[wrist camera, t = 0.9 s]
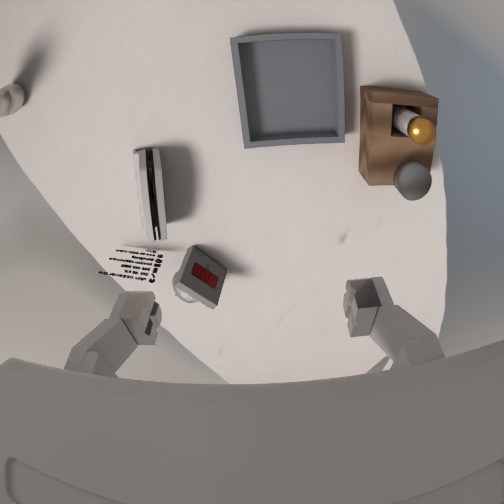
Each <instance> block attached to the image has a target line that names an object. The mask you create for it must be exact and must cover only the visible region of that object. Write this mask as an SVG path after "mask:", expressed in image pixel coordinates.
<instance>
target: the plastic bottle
mask: <svg viewBox="0 0 504 504" xmlns="http://www.w3.org/2000/svg"><path fill="white" fill-rule="evenodd" d="M24 99H25V93H24V90H23V88H22V87H21V86H20V85H18V84H9V85H6V86H5V87H3V88H2V89H0V117H3V116H7V115H11V114H14V113H15V112H17V111H18V110H19V109H20V108H21V107H22V105H23V103H24Z"/></svg>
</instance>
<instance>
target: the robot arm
mask: <svg viewBox="0 0 504 504" xmlns="http://www.w3.org/2000/svg"><path fill="white" fill-rule="evenodd" d="M346 290H347V292H346V293H345V294H344V300H343V307H344V313H345V316H346V317H347V318H348V324H347V325H348V329H349V333H350V337H357V336H367V335H370V337H371V338H372V339H373V341H374V342H375V343H376V344H377V345H378V346H379V347H380V348H381V349H382V350H383V351H384V352H385V353H386V354H387V355H388V356H389V357H390V359H391V360H392V361H393V362H394V363H393V364H392V366H391V368H390V370H386V371H380V372H375V373H368V374H361V375H354V376H347V377H339V378H331V379H322V380H311V381H300V382H286V383H268V384H229V385H228V384H227V385H226V384H185V383H167V382H154V381H142V380H132V379H123V378H119V377H118V376H117V375H116V374H115V372H116V371H117V370H118V369H119V367H120V366H121V365H122V364H123V363H124V362H125V360H126V359H127V358H128V357H129V356H130V355H131V353H132V352H133V351H134V350H135V349H136V348H137V346H138V345H155V342H156V338H157V335H158V332H157V330H156V328H157V327H158V326H159V325H160V323H161V317H162V313H161V308H160V306H159V304H158V303H156V302H155V298H156V297H155V295H154V293H153V292H151V291H122V292H120V293H119V295H118V298H117V300H116V302H115V304H114V307H113V309H112V312H111V314H110V317H109V319H105V320H104V321H103V322H102V323H100V324H99V325H98V326H97V327H96V328H94V329H93V330H92V331H91V332H90V333H89V334H88V335H86V336H85V337H84V338H83V339H82V340H81V341H80V342H78V343H77V344H76V345H75V346H74V347H73V348H72V349H71V352H70V354H69V357H68V359H67V362H66V365H65V367H64V369H59V368H55V367H50V366H46V365H41V364H37V363H33V362H28V361H24V360H21V359H17V358H9V359H8V360H6V361H5V362H4V363H2V364H1V365H0V504H504V340H502V341H499V342H496V343H493V344H490V345H487V346H483V347H480V348H478V349H474V350H470V351H467V352H464V353H460V354H457V355H453V356H449V357H445V356H444V353H443V350H442V348H441V345H440V343H439V340H438V338H437V335H436V334H435V333H434V332H432V331H431V330H430V329H428V328H427V327H426V326H425V325H423V324H422V323H421V322H419V321H418V320H417V319H416V318H414V317H413V316H412V315H410V314H409V313H408V312H406V311H405V310H404V309H402V308H401V307H400V306H398V305H394V303H393V301H392V298H391V296H390V293H389V291H388V289H387V286H386V284H385V282H384V279H383V278H382V277H374V278H364V279H354V280H347V282H346Z"/></svg>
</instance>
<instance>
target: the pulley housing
mask: <svg viewBox="0 0 504 504" xmlns="http://www.w3.org/2000/svg"><path fill="white" fill-rule="evenodd" d="M360 98H361V111H360V152H359V172H360V174H361V175H362V177H363V178H364V179H365V181H366V182H367V184H368V185H369V186H373V185H395V187H396V188H397V190H398V191H399V192H400V193H401V195H402V196H403V197H404V198H405V199H407V200H418V199H420V198H422V197H423V196H425V195H426V194H427V192H428V191H429V189H430V187H431V183H432V178H431V174H430V170H431V164H432V157H433V150H434V143H435V138H434V140H433V141H432V142H431V143H430V144H429V145H426V146H422V145H419V144H417V143H416V142H415V141H413V140H412V139H411V138H409V137H408V136H407V135H405V134H404V133H402V132H401V131H400V130H398V129H397V128H395V127H391V124H392V104H400V105H405V108H407V109H409V110H411V111H412V112H414V113H416V114H418V115H420V116H422V117H424V118H425V119H427V120H429V121H431V122H432V123H433V125H434V126H435V130H436V124H437V113H438V98H435V97H433V96H430V95H428V94H426V93H423V92H419V91H411V90H402V89H392V88H381V87H365V86H360Z"/></svg>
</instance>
